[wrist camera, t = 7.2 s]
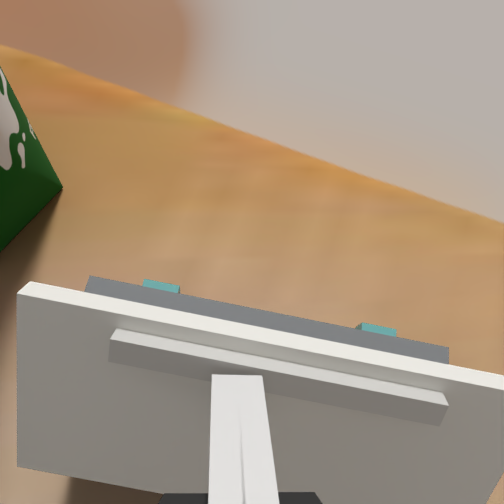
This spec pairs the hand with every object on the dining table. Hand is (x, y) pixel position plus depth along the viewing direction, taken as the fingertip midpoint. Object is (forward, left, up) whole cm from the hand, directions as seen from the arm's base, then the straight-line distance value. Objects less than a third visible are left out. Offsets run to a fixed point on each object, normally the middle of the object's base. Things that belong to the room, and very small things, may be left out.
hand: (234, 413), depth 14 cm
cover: (+1, 0, -2) cm, 2 cm away
